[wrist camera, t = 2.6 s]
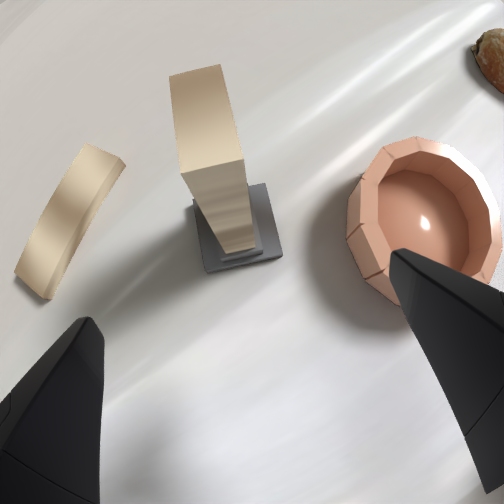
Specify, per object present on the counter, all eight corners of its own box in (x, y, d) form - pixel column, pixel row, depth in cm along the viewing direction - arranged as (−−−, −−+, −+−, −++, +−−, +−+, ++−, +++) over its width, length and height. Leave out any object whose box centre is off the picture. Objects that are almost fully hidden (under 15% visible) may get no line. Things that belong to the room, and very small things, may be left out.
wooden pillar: (282, 256, 21) (304, 163, 9) (207, 272, 21) (129, 203, 9) (265, 187, 22) (262, 47, 10) (194, 203, 22) (126, 80, 10)
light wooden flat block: (55, 300, 22) (41, 298, 20) (27, 275, 22) (13, 271, 20) (128, 167, 24) (119, 157, 22) (95, 152, 24) (85, 142, 22)
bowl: (386, 335, 20) (408, 336, 16) (320, 187, 22) (328, 164, 19) (493, 268, 20) (520, 260, 17) (433, 147, 22) (452, 125, 19)
